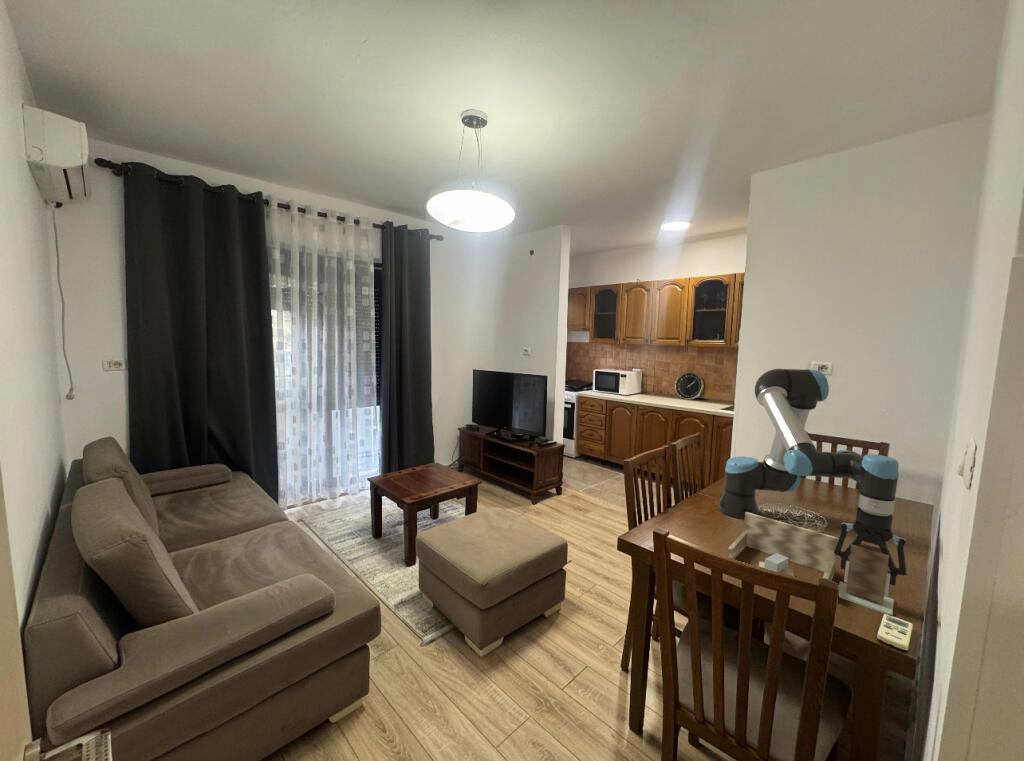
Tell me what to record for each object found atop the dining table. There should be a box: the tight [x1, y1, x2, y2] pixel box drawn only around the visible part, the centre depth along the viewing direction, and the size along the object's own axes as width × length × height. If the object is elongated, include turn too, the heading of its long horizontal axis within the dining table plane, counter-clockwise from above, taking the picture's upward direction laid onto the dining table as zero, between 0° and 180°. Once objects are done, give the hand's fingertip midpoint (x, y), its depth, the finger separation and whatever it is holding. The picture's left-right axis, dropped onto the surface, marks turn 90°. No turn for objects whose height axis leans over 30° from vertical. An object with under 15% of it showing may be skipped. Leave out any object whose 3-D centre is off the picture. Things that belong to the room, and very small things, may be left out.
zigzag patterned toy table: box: [727, 512, 839, 581], centre depth 131 cm, size 26×19×12 cm
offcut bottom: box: [758, 561, 795, 577], centre depth 128 cm, size 9×4×3 cm, turn 58°
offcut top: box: [764, 553, 789, 572], centre depth 128 cm, size 7×4×3 cm, turn 121°
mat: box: [838, 581, 895, 616], centre depth 117 cm, size 12×9×1 cm
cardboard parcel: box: [846, 541, 891, 604], centre depth 117 cm, size 8×4×14 cm, turn 45°
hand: (865, 586), depth 117 cm, fingers closed on cardboard parcel, 8 cm apart
